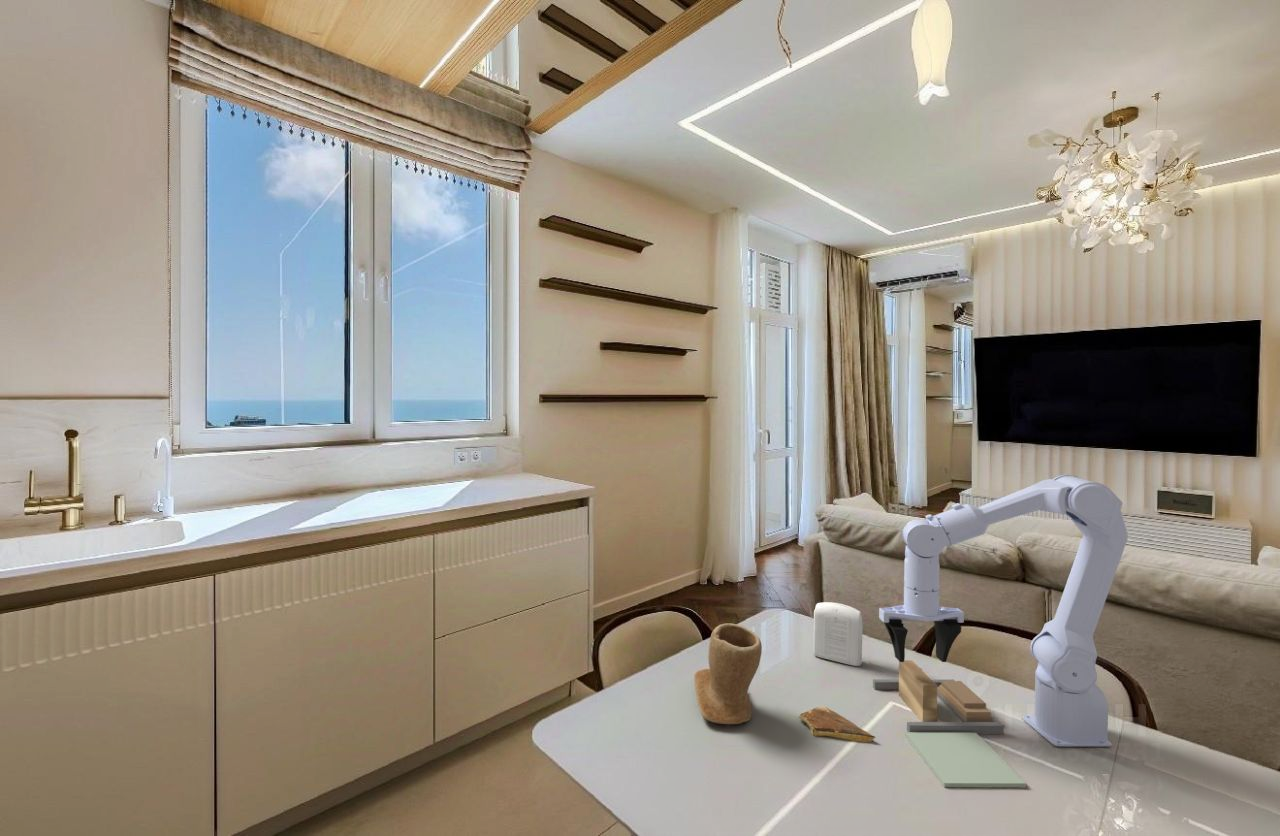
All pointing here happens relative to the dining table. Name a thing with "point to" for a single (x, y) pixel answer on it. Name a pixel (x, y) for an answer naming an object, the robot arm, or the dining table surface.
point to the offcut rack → (953, 709)
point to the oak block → (918, 691)
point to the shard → (833, 725)
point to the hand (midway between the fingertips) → (920, 659)
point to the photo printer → (838, 633)
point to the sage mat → (963, 760)
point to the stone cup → (728, 675)
